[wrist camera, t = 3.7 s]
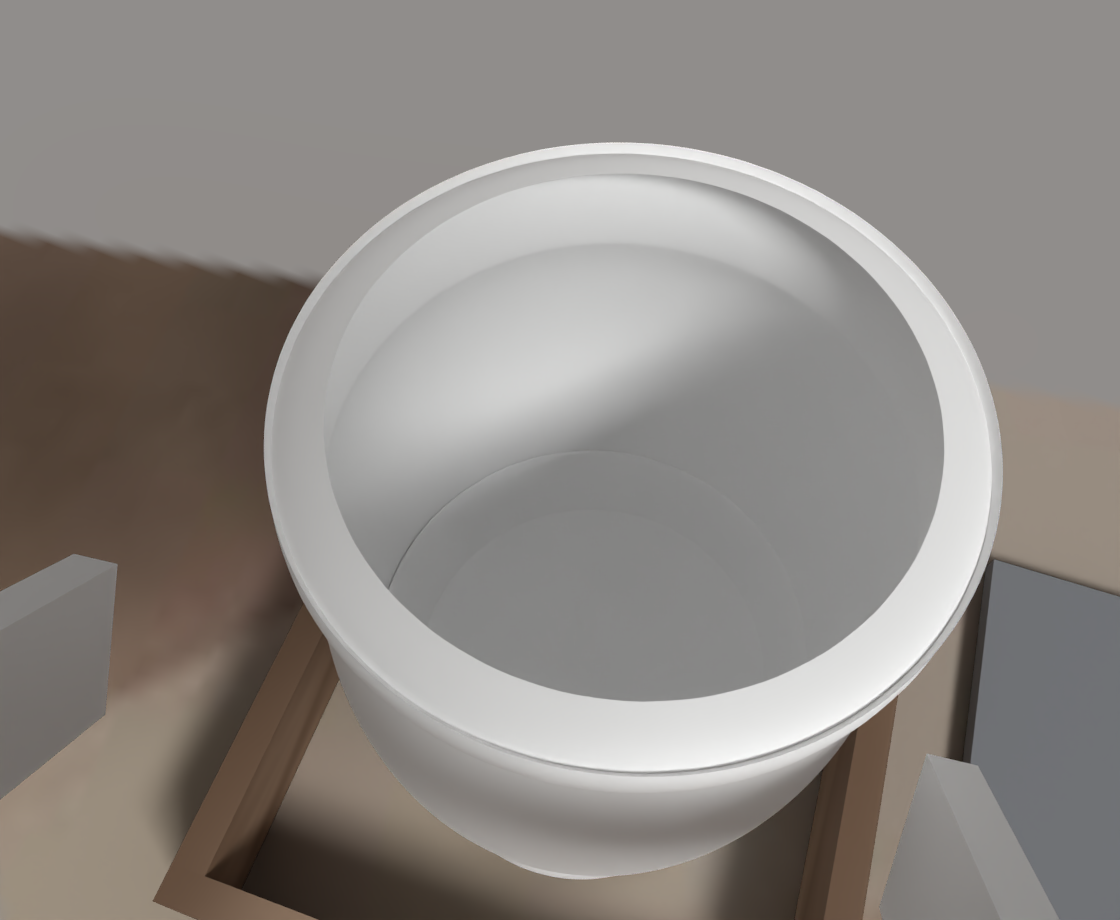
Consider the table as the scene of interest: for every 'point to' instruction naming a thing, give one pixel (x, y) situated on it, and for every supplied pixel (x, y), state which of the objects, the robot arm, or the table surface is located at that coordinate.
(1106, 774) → the pad
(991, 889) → the robot arm
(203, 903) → the collar
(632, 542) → the jar
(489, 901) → the table surface
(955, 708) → the table surface
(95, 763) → the table surface
